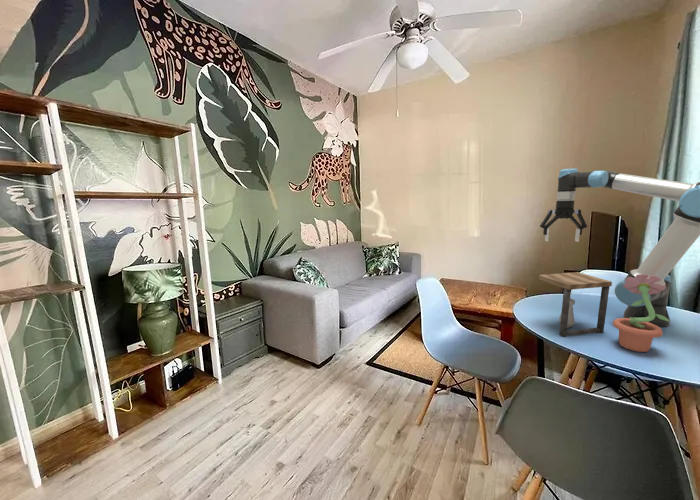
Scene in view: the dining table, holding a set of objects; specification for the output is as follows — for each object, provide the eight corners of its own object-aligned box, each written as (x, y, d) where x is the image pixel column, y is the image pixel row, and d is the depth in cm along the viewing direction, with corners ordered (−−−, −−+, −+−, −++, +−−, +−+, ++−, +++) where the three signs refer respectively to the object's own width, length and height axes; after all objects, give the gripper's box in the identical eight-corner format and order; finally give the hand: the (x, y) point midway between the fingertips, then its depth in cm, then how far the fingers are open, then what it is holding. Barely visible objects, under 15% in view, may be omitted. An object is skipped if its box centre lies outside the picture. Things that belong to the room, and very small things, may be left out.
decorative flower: (661, 346, 114) (674, 272, 108) (665, 362, 104) (680, 280, 98) (610, 335, 124) (619, 266, 118) (609, 348, 114) (620, 274, 108)
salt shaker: (560, 327, 132) (563, 300, 130) (556, 322, 137) (559, 296, 135) (576, 329, 130) (579, 301, 128) (571, 324, 136) (574, 297, 133)
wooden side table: (573, 318, 142) (578, 272, 138) (605, 332, 126) (612, 281, 122) (534, 321, 139) (538, 274, 135) (562, 337, 124) (568, 285, 119)
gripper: (591, 199, 149) (586, 240, 153) (535, 200, 157) (532, 239, 160) (598, 199, 142) (593, 242, 146) (539, 201, 150) (536, 242, 153)
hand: (561, 241), depth 153 cm, fingers open, 13 cm apart
